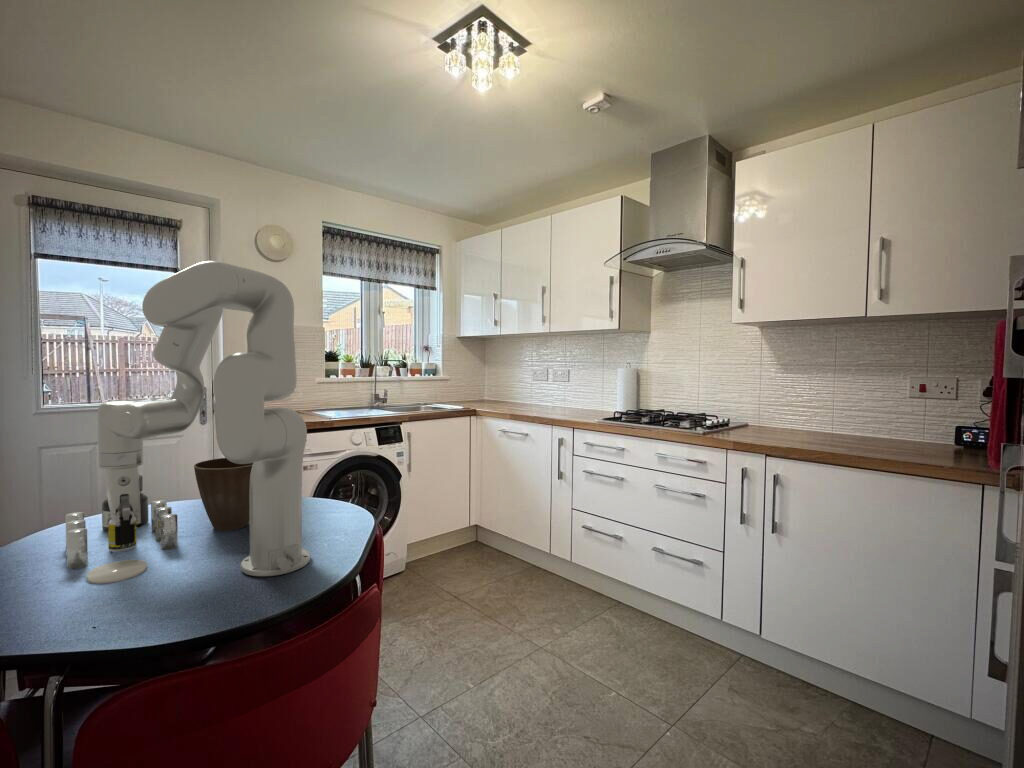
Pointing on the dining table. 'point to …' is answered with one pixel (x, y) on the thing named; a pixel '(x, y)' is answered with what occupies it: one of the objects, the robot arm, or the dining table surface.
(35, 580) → the dining table surface
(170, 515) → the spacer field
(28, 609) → the dining table surface
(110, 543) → the supplement bottle
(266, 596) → the dining table surface
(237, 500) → the plant pot
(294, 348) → the robot arm
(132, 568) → the coaster
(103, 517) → the ink bottle
